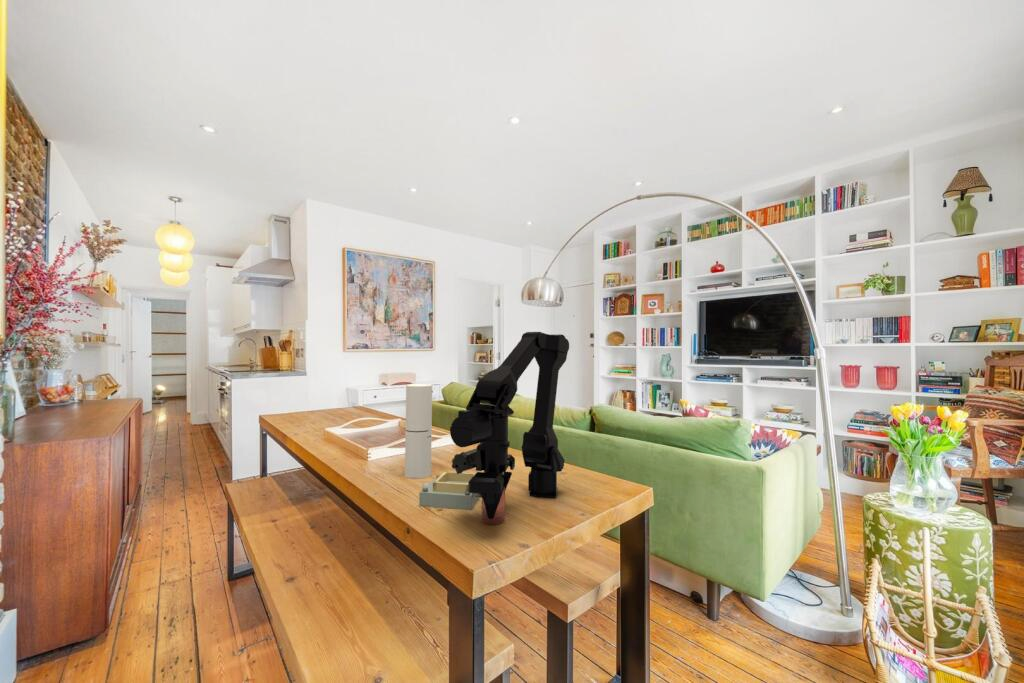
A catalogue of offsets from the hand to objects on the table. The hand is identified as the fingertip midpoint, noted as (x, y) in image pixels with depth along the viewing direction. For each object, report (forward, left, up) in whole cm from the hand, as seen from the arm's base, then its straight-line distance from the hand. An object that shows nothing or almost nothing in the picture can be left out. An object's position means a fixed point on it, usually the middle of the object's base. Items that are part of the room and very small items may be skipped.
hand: (493, 513), depth 85 cm
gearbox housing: (+12, -10, -1) cm, 16 cm away
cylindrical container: (+27, -26, -2) cm, 38 cm away
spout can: (+1, 0, -1) cm, 2 cm away
